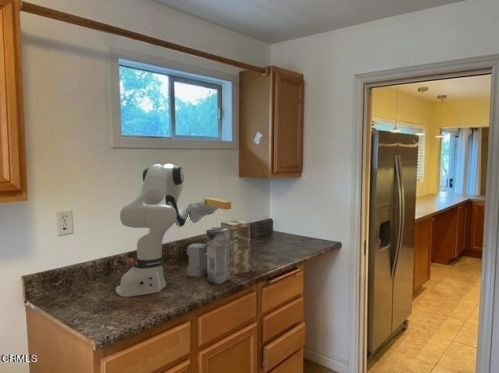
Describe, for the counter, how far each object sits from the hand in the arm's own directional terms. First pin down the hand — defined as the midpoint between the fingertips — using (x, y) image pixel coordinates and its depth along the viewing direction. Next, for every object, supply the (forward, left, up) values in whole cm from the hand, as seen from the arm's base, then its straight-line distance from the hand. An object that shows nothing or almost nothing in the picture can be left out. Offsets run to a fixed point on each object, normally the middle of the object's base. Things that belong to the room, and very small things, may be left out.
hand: (209, 200), depth 221 cm
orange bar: (0, -8, -3) cm, 9 cm away
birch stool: (0, -28, -35) cm, 44 cm away
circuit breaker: (-17, -23, -35) cm, 45 cm away
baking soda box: (+20, +5, -35) cm, 41 cm away
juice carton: (-16, -37, -35) cm, 53 cm away
